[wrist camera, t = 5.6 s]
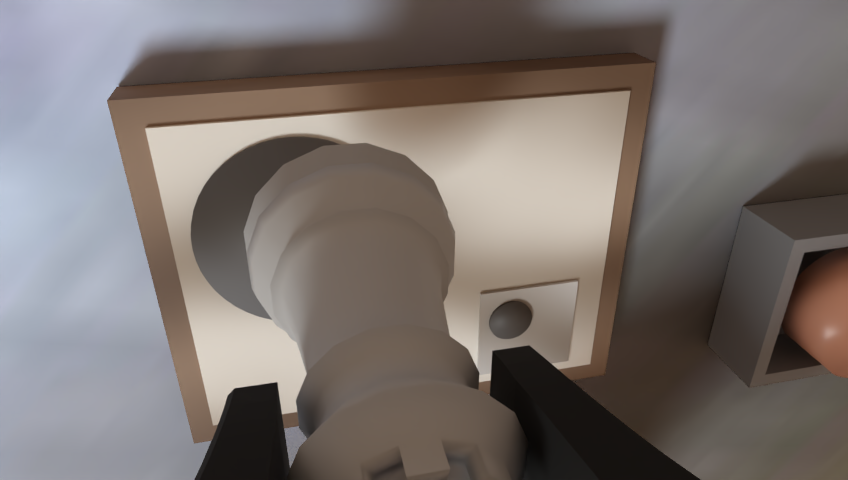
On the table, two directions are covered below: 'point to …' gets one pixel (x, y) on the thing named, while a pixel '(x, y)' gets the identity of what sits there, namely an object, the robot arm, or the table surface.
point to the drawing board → (439, 158)
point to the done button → (822, 311)
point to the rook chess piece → (374, 322)
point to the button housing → (773, 286)
